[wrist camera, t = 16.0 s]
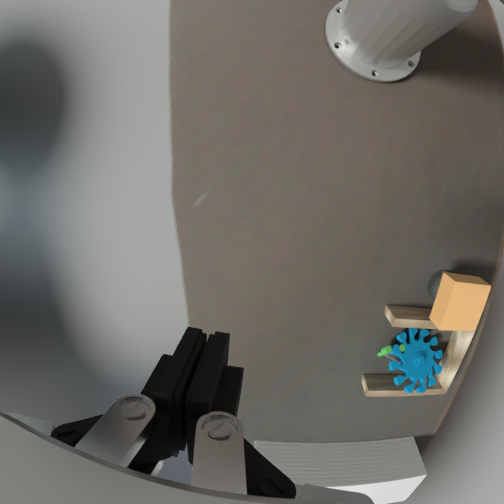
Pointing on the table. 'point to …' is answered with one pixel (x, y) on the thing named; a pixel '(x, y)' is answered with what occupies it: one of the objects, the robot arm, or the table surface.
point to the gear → (414, 360)
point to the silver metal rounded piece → (435, 283)
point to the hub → (459, 302)
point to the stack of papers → (351, 466)
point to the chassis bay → (449, 362)
